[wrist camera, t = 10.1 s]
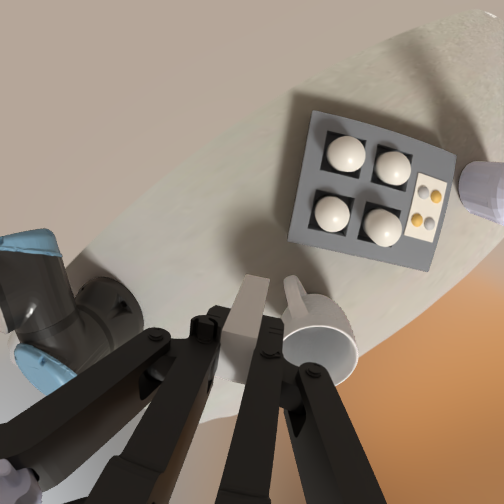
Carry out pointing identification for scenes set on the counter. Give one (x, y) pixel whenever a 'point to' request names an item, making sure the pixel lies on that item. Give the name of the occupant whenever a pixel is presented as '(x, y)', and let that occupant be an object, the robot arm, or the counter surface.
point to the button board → (373, 193)
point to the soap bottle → (483, 190)
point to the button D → (392, 168)
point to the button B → (345, 154)
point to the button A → (331, 213)
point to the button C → (382, 227)
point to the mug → (317, 332)
